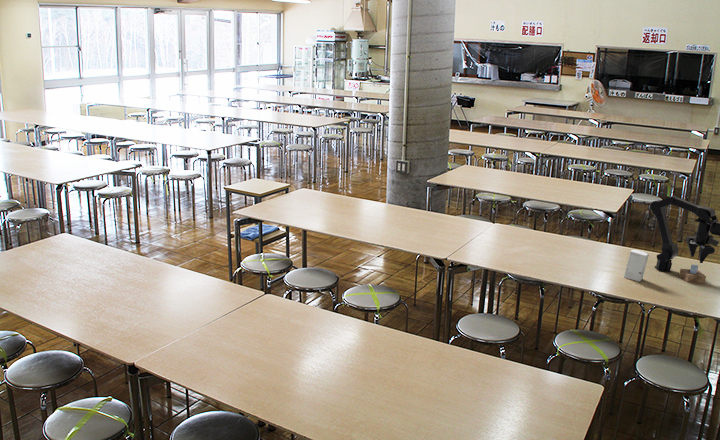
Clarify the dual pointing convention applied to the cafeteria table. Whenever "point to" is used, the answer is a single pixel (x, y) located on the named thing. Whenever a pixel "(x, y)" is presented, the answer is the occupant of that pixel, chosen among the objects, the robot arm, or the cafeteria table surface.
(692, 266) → the peg
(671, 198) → the robot arm
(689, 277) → the socket block
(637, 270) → the skincare box
